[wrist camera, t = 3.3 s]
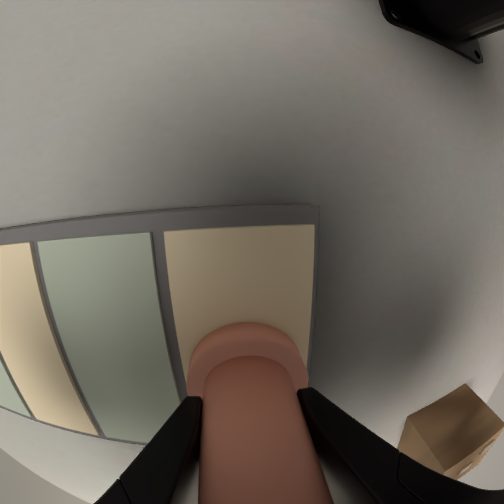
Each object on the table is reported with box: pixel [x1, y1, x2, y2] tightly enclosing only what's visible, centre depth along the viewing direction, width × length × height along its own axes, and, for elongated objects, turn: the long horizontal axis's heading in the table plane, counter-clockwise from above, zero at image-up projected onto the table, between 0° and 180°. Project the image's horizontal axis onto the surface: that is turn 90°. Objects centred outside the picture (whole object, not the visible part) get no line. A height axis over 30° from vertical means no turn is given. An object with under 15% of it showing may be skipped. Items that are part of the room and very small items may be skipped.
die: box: [397, 384, 504, 480], centre depth 10 cm, size 5×5×5 cm
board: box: [0, 204, 319, 445], centre depth 8 cm, size 18×10×1 cm, turn 91°
